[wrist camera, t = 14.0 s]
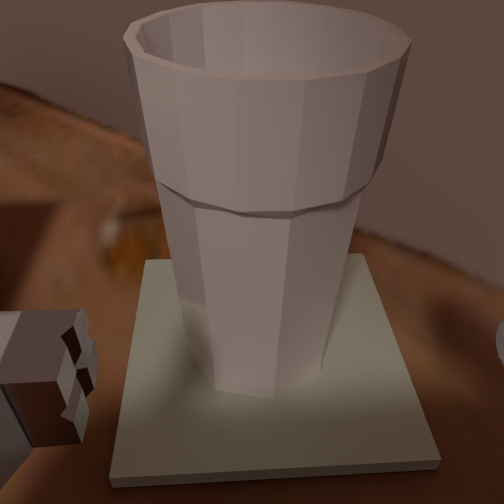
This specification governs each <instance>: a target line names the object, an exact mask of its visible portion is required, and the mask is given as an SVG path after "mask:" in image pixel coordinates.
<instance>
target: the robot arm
mask: <svg viewBox="0 0 504 504" xmlns="http://www.w3.org/2000/svg"><path fill="white" fill-rule="evenodd" d="M88 326H89V322H88V319H87V316H86V313H85V311H84V310H81V309H71V310H26V311H0V490H1V489H2V487H3V486H4V485H5V484H6V483H7V481H8V480H9V479H10V478H11V477H12V475H13V474H14V473H15V472H16V471H17V470H18V468H19V467H20V466H21V465H22V464H23V462H24V461H25V460H26V459H27V458H28V456H29V455H30V454H31V453H32V452H33V449H32V448H37V447H49V446H61V445H73V444H82V441H83V437H84V433H85V428H86V424H87V419H88V415H89V411H90V410H89V407H88V404H87V401H86V397H87V396H88V395H89V394H90V393H91V392H92V391H93V390H94V388H95V383H96V378H97V366H98V358H97V349H96V345H95V342H94V339H92V338H91V337H89V336H88V335H87V330H88ZM496 348H497V351H498V355H499V358H500V359H501V361H502V363H503V365H504V320H503V321H501V323H500V325H499V328H498V330H497V333H496Z"/></svg>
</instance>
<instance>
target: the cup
mask: <svg viewBox="0 0 504 504" xmlns="http://www.w3.org/2000/svg"><path fill="white" fill-rule="evenodd" d="M123 43H124V48H125V53H126V57H127V63H128V68H129V73H130V78H131V84H132V89H133V94H134V99H135V104H136V109H137V114H138V120H139V124H140V130H141V135H142V140H143V145H144V150H145V156H146V159H147V161H148V163H149V166H150V168H151V171H152V173H153V175H154V178H155V180H156V184H157V189H158V194H159V199H160V205H161V210H162V215H163V220H164V225H165V230H166V235H167V240H168V246H169V251H170V256H171V261H172V266H173V271H174V276H175V281H176V287H177V292H178V297H179V302H180V307H181V312H182V317H183V322H184V328H185V333H186V341H187V350H188V352H189V354H190V355H191V357H192V358H193V359H194V361H195V362H196V364H197V365H198V366H199V368H200V369H201V370H202V372H203V373H204V375H205V376H206V377H207V379H208V380H209V382H210V383H211V384H212V386H213V387H214V388H215V390H219V391H225V392H231V393H236V394H242V395H248V396H253V397H259V398H265V399H271V400H275V399H276V398H278V397H280V396H281V395H283V394H285V393H286V392H288V391H290V390H291V389H293V388H295V387H297V386H298V385H300V384H302V383H303V382H305V381H307V380H308V379H310V378H312V377H313V376H315V375H317V374H319V373H320V367H321V361H322V355H323V351H324V347H325V343H326V339H327V335H328V331H329V326H330V322H331V318H332V314H333V310H334V306H335V302H336V298H337V294H338V290H339V286H340V282H341V277H342V273H343V269H344V265H345V261H346V257H347V253H348V249H349V245H350V241H351V237H352V233H353V228H354V224H355V220H356V216H357V212H358V208H359V204H360V199H361V196H362V191H363V190H364V189H365V187H366V186H367V185H368V184H369V182H370V181H371V180H372V178H373V176H374V174H375V172H376V170H377V168H378V166H379V164H380V162H381V160H382V158H383V154H384V150H385V146H386V142H387V138H388V134H389V130H390V127H391V123H392V119H393V115H394V111H395V107H396V103H397V99H398V95H399V91H400V88H401V84H402V80H403V76H404V72H405V68H406V64H407V60H408V56H409V53H410V49H411V45H412V40H411V39H410V38H409V37H407V35H405V34H404V33H403V32H402V31H401V30H400V29H399V28H398V27H397V26H395V25H393V24H391V23H388V22H386V21H384V20H382V19H380V18H377V17H375V16H373V15H371V14H367V13H363V12H358V11H353V10H348V9H343V8H338V7H333V6H327V5H319V4H310V3H301V2H292V1H229V2H215V3H201V4H194V5H189V6H184V7H179V8H175V9H170V10H165V11H161V12H158V13H155V14H153V15H151V16H148V17H145V18H142V19H140V20H138V21H135V22H132V23H131V24H130V26H129V28H128V29H127V31H126V33H125V34H124V36H123Z"/></svg>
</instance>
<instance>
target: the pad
mask: <svg viewBox="0 0 504 504" xmlns="http://www.w3.org/2000/svg"><path fill="white" fill-rule="evenodd" d="M441 460H442V459H441V457H440V454H439V451H438V449H437V446H436V444H435V441H434V438H433V436H432V433H431V430H430V428H429V425H428V423H427V420H426V417H425V415H424V412H423V410H422V407H421V404H420V402H419V399H418V396H417V394H416V391H415V389H414V386H413V383H412V381H411V378H410V375H409V373H408V370H407V368H406V365H405V362H404V360H403V357H402V355H401V352H400V349H399V347H398V344H397V341H396V339H395V336H394V334H393V331H392V328H391V326H390V323H389V321H388V318H387V315H386V313H385V310H384V307H383V305H382V302H381V300H380V297H379V294H378V292H377V289H376V286H375V284H374V281H373V279H372V276H371V273H370V271H369V268H368V266H367V263H366V260H365V258H364V255H363V253H353V254H347V257H346V261H345V265H344V269H343V273H342V277H341V282H340V286H339V290H338V294H337V298H336V302H335V306H334V310H333V314H332V318H331V322H330V326H329V331H328V335H327V339H326V343H325V347H324V351H323V355H322V361H321V367H320V373H319V374H317V375H315V376H313V377H312V378H310V379H308V380H307V381H305V382H303V383H302V384H300V385H298V386H297V387H295V388H293V389H291V390H290V391H288V392H286V393H285V394H283V395H281V396H280V397H278V398H276V399H275V400H271V399H265V398H259V397H253V396H248V395H242V394H236V393H231V392H225V391H219V390H215V388H214V387H213V386H212V384H211V383H210V382H209V380H208V379H207V377H206V376H205V375H204V373H203V372H202V370H201V369H200V368H199V366H198V365H197V364H196V362H195V361H194V359H193V358H192V357H191V355H190V354H189V352H188V350H187V341H186V333H185V328H184V322H183V317H182V312H181V307H180V302H179V297H178V292H177V287H176V281H175V276H174V271H173V266H172V261H171V259H161V260H146V261H145V267H144V273H143V279H142V285H141V291H140V297H139V303H138V309H137V315H136V320H135V326H134V332H133V338H132V344H131V350H130V356H129V362H128V368H127V374H126V380H125V386H124V392H123V398H122V404H121V410H120V415H119V421H118V427H117V433H116V439H115V445H114V451H113V457H112V463H111V469H110V475H109V480H110V483H111V485H112V488H119V487H137V486H154V485H172V484H190V483H207V482H225V481H242V480H260V479H277V478H295V477H312V476H330V475H347V474H365V473H382V472H400V471H417V470H435V469H437V468H438V466H439V464H440V462H441Z"/></svg>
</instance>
